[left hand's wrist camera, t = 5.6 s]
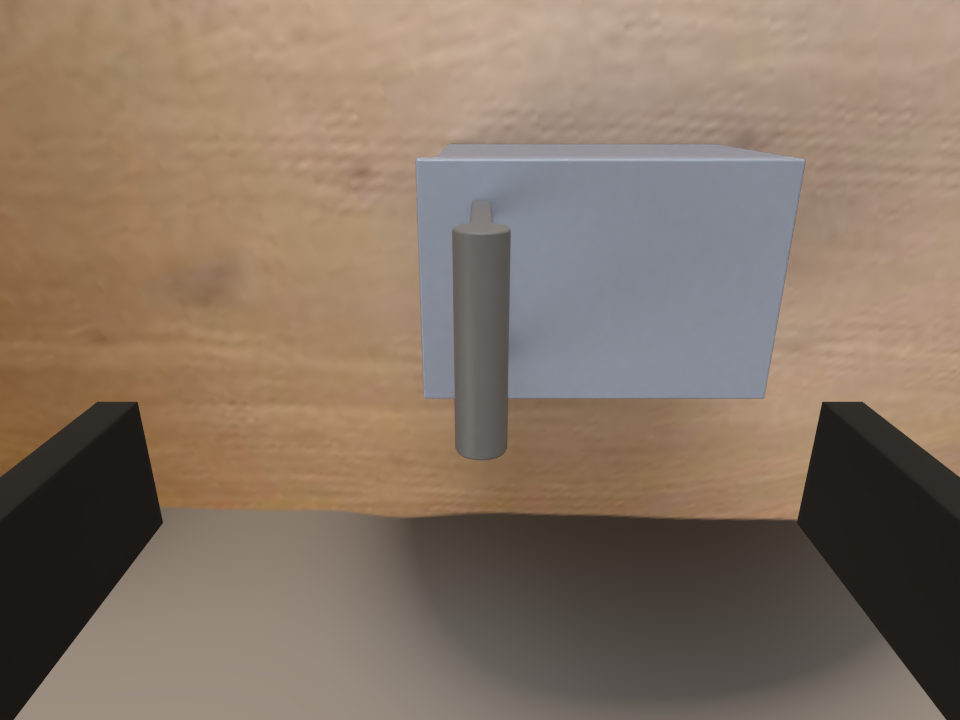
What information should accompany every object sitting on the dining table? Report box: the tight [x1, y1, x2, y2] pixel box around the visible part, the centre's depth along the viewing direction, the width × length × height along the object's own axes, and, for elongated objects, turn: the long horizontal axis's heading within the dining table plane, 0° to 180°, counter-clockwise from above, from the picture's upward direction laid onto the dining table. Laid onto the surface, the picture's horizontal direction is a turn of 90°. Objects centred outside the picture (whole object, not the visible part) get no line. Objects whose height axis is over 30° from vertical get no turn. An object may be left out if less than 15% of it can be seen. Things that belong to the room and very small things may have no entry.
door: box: [416, 157, 805, 460], centre depth 22 cm, size 14×10×8 cm
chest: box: [438, 144, 789, 157], centre depth 30 cm, size 13×10×9 cm
